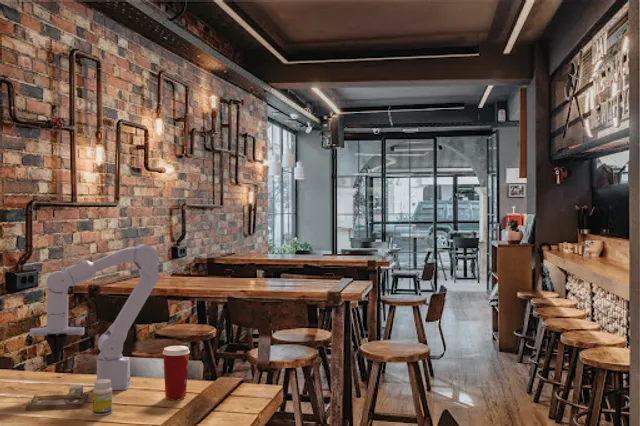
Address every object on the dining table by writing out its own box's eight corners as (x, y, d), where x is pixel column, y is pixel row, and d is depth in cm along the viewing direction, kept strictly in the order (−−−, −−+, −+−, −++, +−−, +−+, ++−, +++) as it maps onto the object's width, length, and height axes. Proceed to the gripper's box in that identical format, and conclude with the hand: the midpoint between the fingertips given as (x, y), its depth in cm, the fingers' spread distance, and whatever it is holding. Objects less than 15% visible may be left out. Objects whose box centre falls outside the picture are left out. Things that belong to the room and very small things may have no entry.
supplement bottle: (95, 410, 163) (96, 378, 163) (114, 410, 163) (114, 378, 163) (90, 416, 158) (90, 383, 158) (109, 416, 158) (109, 383, 158)
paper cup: (194, 397, 175) (195, 348, 175) (171, 403, 170) (172, 352, 170) (179, 391, 180) (179, 343, 181) (156, 397, 175) (156, 347, 175)
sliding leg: (82, 394, 172) (83, 384, 172) (77, 401, 165) (77, 392, 165) (71, 394, 171) (71, 385, 171) (65, 402, 164) (65, 392, 164)
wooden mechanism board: (88, 398, 173) (88, 390, 173) (81, 407, 164) (82, 399, 164) (35, 400, 171) (35, 392, 171) (25, 410, 162) (25, 401, 162)
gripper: (26, 315, 173) (26, 364, 173) (81, 314, 175) (80, 362, 175) (33, 311, 180) (33, 358, 180) (86, 311, 182) (85, 357, 182)
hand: (57, 360), depth 178 cm, fingers closed
